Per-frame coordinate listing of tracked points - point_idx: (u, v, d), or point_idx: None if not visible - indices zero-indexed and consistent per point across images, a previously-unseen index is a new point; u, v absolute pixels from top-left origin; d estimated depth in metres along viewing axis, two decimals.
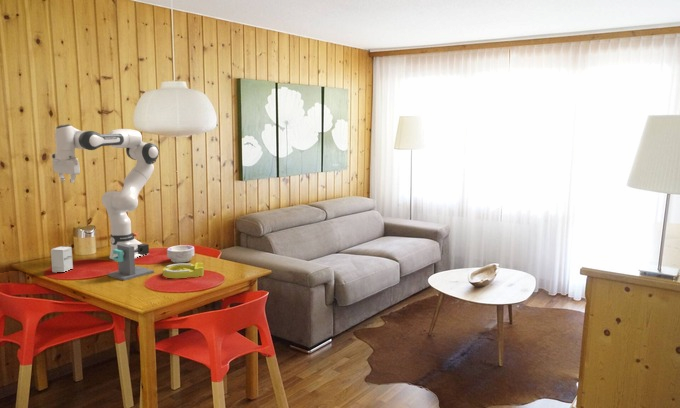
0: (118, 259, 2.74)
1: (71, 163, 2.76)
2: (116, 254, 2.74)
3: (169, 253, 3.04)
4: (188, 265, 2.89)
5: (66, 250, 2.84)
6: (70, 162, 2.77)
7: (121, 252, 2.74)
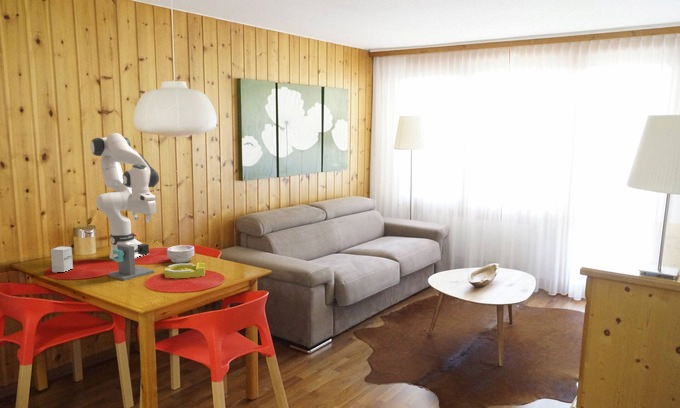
0: (118, 259, 2.74)
1: None
2: (116, 254, 2.74)
3: (169, 253, 3.04)
4: (189, 265, 2.89)
5: (66, 250, 2.84)
6: None
7: (121, 252, 2.74)
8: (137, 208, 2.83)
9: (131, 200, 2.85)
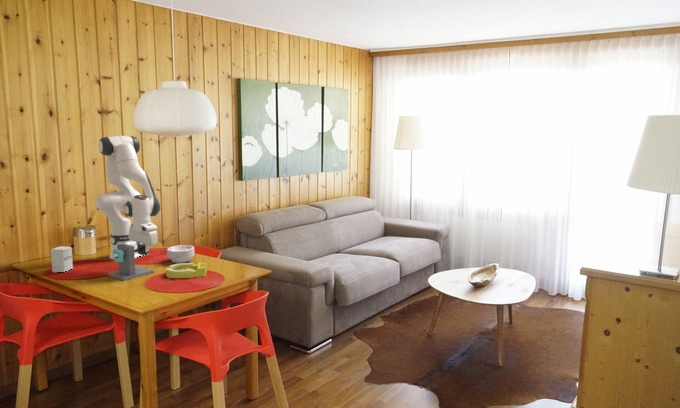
0: (118, 259, 2.74)
1: None
2: (116, 254, 2.74)
3: (169, 253, 3.04)
4: (191, 265, 2.90)
5: (66, 250, 2.84)
6: None
7: (121, 252, 2.74)
8: (138, 238, 2.86)
9: (133, 230, 2.88)
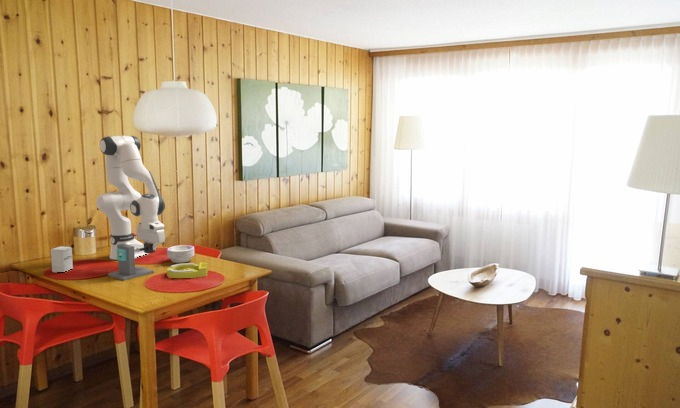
0: (121, 258, 2.76)
1: None
2: None
3: (169, 253, 3.04)
4: (192, 265, 2.90)
5: (66, 250, 2.84)
6: None
7: (124, 251, 2.76)
8: (146, 236, 2.90)
9: (140, 228, 2.92)
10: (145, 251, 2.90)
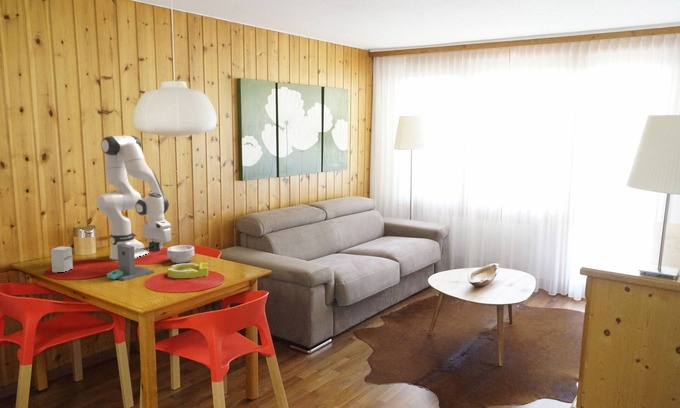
0: None
1: None
2: None
3: (169, 253, 3.04)
4: (193, 265, 2.90)
5: (66, 250, 2.84)
6: None
7: (114, 276, 2.72)
8: (153, 235, 2.93)
9: (147, 227, 2.95)
10: (150, 250, 2.93)
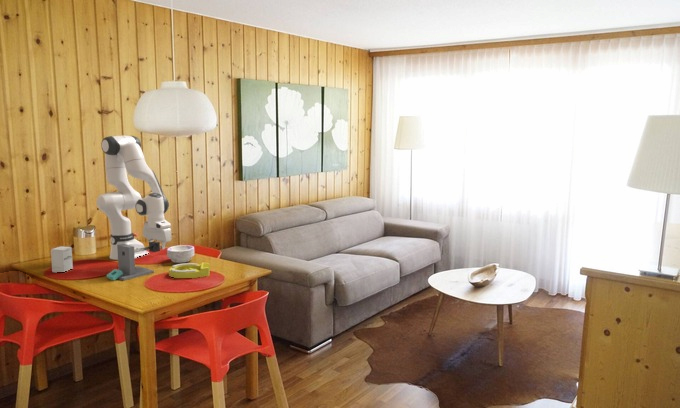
0: None
1: None
2: None
3: (169, 253, 3.04)
4: (194, 265, 2.90)
5: (66, 250, 2.84)
6: None
7: (114, 277, 2.72)
8: (153, 235, 2.93)
9: (147, 227, 2.95)
10: (150, 250, 2.93)
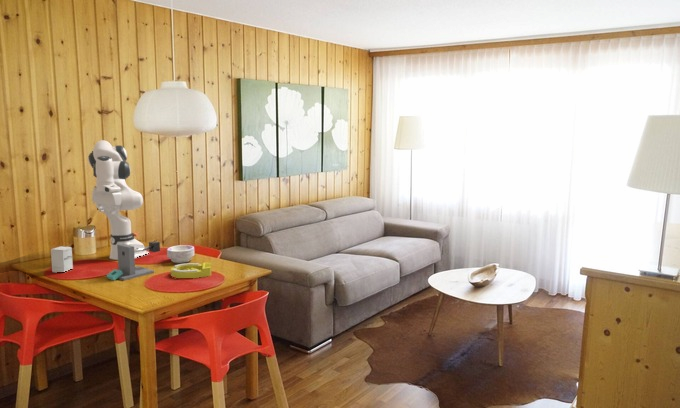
0: None
1: None
2: None
3: (169, 253, 3.04)
4: (196, 265, 2.90)
5: (66, 250, 2.84)
6: None
7: (114, 277, 2.72)
8: (102, 200, 2.83)
9: (96, 192, 2.85)
10: (150, 250, 2.93)
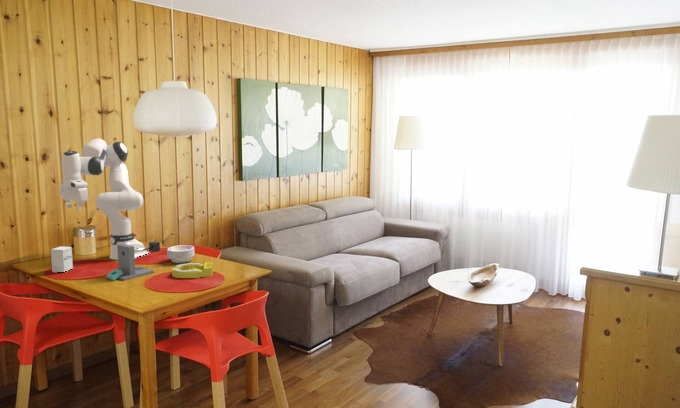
0: None
1: None
2: None
3: (169, 253, 3.04)
4: (197, 265, 2.90)
5: (66, 250, 2.84)
6: None
7: (114, 277, 2.72)
8: (69, 195, 2.79)
9: (63, 187, 2.81)
10: (150, 250, 2.93)
